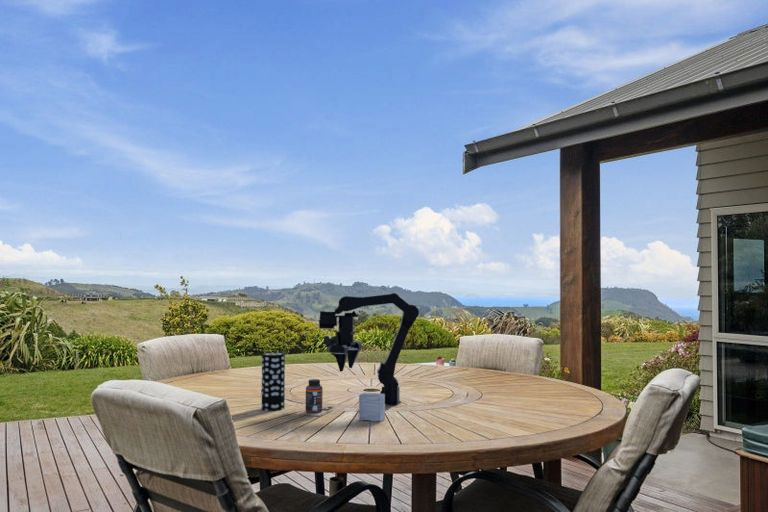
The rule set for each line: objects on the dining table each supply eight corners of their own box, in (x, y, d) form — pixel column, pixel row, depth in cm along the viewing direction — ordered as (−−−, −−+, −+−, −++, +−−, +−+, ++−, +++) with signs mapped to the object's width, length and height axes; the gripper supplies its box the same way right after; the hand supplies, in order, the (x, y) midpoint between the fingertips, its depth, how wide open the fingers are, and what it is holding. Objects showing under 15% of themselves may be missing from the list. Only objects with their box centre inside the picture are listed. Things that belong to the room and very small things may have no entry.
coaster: (328, 412, 219) (328, 410, 219) (319, 416, 211) (319, 415, 211) (308, 410, 221) (308, 409, 221) (298, 415, 214) (298, 413, 214)
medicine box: (385, 419, 207) (385, 393, 207) (380, 422, 203) (380, 395, 203) (363, 417, 209) (363, 392, 210) (358, 420, 205) (358, 394, 206)
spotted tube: (288, 407, 227) (289, 353, 228) (275, 411, 219) (276, 355, 220) (270, 405, 230) (270, 352, 231) (256, 409, 223) (257, 354, 224)
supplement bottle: (319, 414, 213) (319, 381, 213) (303, 413, 214) (303, 380, 214) (324, 410, 219) (324, 378, 219) (308, 410, 220) (308, 378, 220)
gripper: (336, 326, 247) (336, 365, 246) (316, 330, 229) (316, 371, 228) (362, 327, 243) (362, 366, 242) (344, 330, 225) (344, 373, 225)
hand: (346, 369), depth 234 cm, fingers open, 9 cm apart
